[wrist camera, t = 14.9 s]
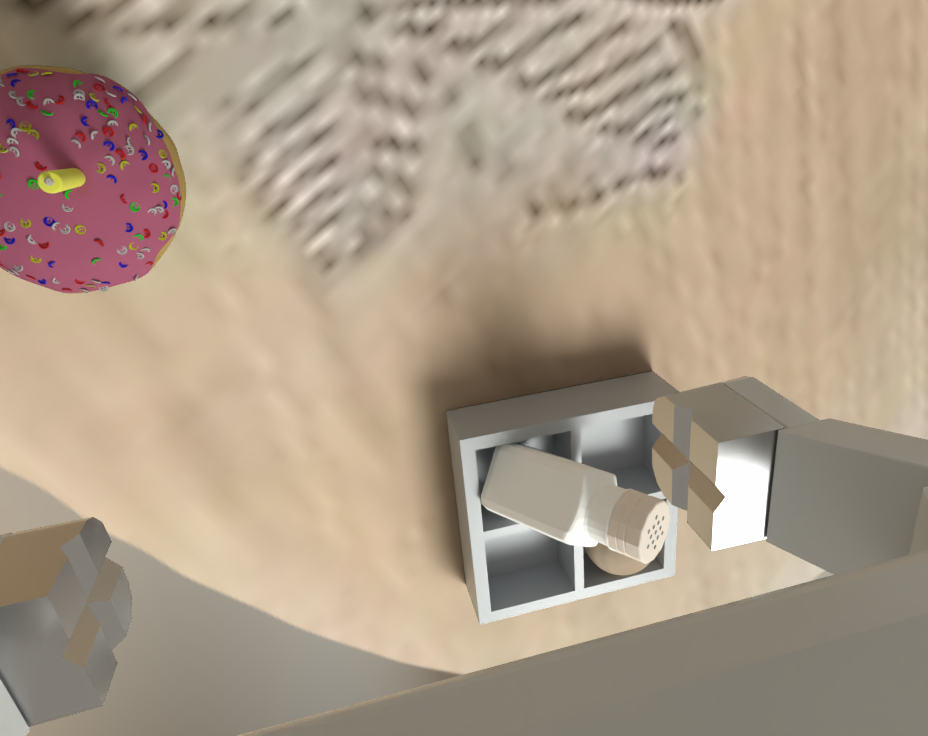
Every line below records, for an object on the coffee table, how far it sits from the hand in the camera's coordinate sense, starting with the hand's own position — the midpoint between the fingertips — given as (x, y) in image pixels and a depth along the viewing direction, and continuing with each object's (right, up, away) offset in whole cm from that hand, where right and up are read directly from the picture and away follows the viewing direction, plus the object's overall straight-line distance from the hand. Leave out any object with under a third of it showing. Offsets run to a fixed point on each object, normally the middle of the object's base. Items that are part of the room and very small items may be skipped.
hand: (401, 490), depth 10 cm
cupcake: (-16, +11, +20) cm, 27 cm away
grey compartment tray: (+7, -6, +32) cm, 33 cm away
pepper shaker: (+3, -4, +28) cm, 29 cm away
